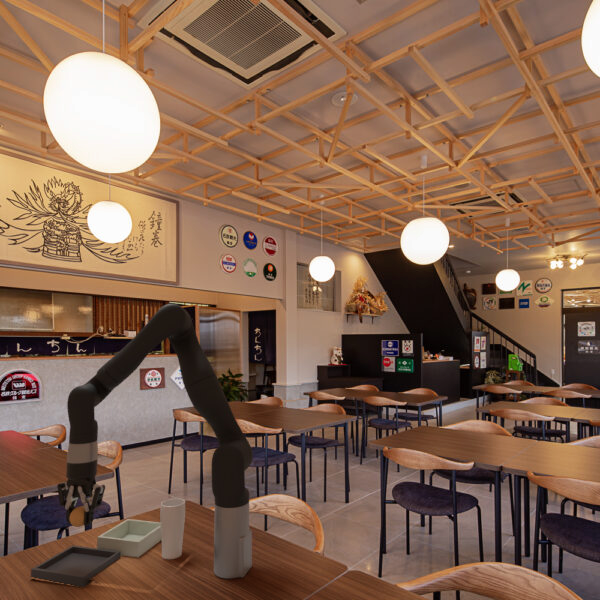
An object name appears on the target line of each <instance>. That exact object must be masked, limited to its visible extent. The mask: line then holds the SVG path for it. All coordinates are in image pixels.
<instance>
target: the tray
mask: <svg viewBox="0 0 600 600" xmlns="http://www.w3.org/2000/svg"><path fill="white" fill-rule="evenodd" d="M121 557H122V555H121V552H120V551H112V550H105V549H97V547H96V548H95V547H89V546H88V547H87V546H79V545H71V546H69V547H67V548H65V549H64V550H62V551H60V552H58V553H56V554H55V555H54V556H51V557H50V558H48V559H47V560H45V561H43V562H40V564H38V565H36V566H35V567H32V568H31V569H30V578H31V577H34V578H39V579H44V580H49V581H53V582H59V583H64V584H70V585H74V586H78V587H77V588H80V587H82V588H81V589H84V588H85V587H87V586H88V585H89V584H91V583H92V582H94V580H93V579H92V578H93V577H95V576H97V575H98V574H99V573H100V572H102V571H104V570H106V569H107V568H108V567H109V566H110V565H113V563H115V562H117V561H118V560H119V559H121ZM91 581H92V582H91ZM90 582H91V583H90ZM74 586H73V587H74ZM83 587H84V588H83Z"/></svg>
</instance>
